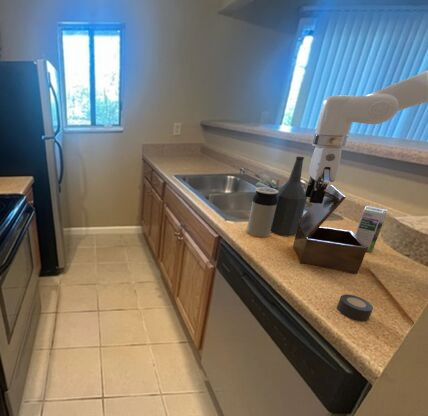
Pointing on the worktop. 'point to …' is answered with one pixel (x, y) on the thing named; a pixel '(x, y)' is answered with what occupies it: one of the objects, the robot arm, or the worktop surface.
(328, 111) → the robot arm
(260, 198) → the travel mug
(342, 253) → the bin
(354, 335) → the worktop surface
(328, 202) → the lid
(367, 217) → the syrup box
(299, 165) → the bottle
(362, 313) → the tape
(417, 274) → the worktop surface
